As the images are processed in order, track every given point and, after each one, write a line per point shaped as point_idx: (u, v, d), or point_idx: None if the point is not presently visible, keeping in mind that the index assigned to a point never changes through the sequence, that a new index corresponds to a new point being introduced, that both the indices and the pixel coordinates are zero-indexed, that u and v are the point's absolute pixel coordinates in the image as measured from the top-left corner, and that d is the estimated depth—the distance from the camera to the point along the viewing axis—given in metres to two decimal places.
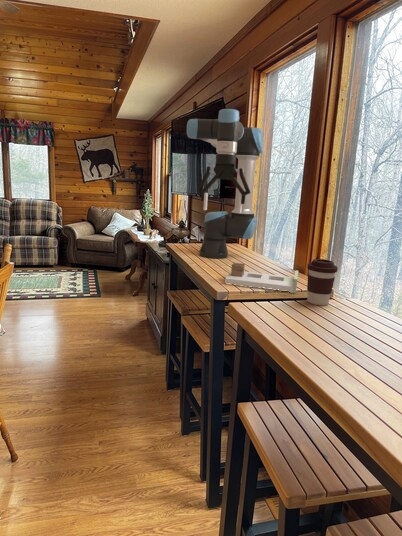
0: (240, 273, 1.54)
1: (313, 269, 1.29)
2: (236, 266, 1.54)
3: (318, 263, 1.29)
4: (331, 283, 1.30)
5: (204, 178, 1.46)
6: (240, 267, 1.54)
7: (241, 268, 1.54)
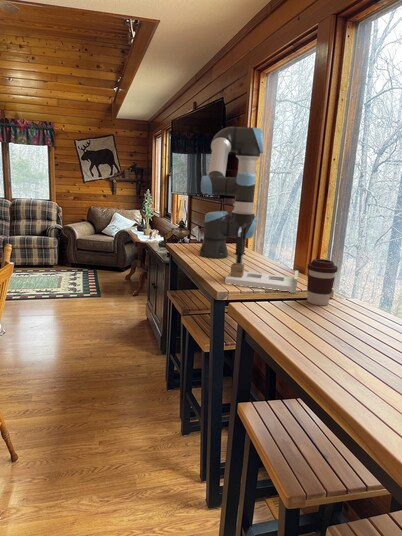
0: (240, 274, 1.53)
1: (313, 269, 1.29)
2: (235, 267, 1.53)
3: (318, 263, 1.29)
4: (331, 283, 1.30)
5: None
6: (240, 268, 1.52)
7: (241, 269, 1.52)
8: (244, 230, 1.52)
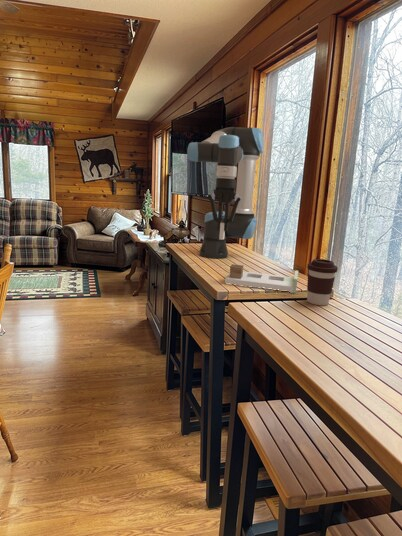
0: (239, 275, 1.51)
1: (313, 269, 1.29)
2: (235, 268, 1.51)
3: (318, 263, 1.29)
4: (331, 283, 1.30)
5: (212, 207, 1.49)
6: (239, 269, 1.51)
7: (240, 270, 1.51)
8: None
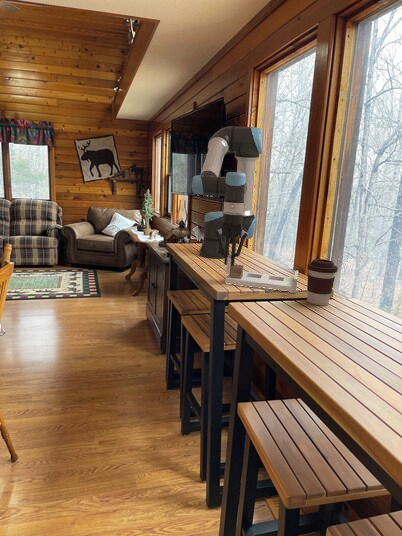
0: (239, 275, 1.51)
1: (313, 269, 1.29)
2: (235, 268, 1.51)
3: (318, 263, 1.29)
4: (331, 283, 1.30)
5: (219, 242, 1.51)
6: (239, 269, 1.51)
7: (240, 270, 1.51)
8: None
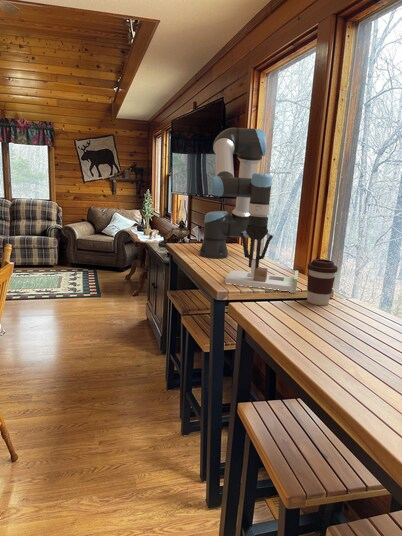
0: (263, 278, 1.48)
1: (313, 269, 1.29)
2: (259, 271, 1.48)
3: (318, 263, 1.29)
4: (331, 283, 1.30)
5: (244, 244, 1.48)
6: (263, 272, 1.48)
7: (264, 273, 1.48)
8: None
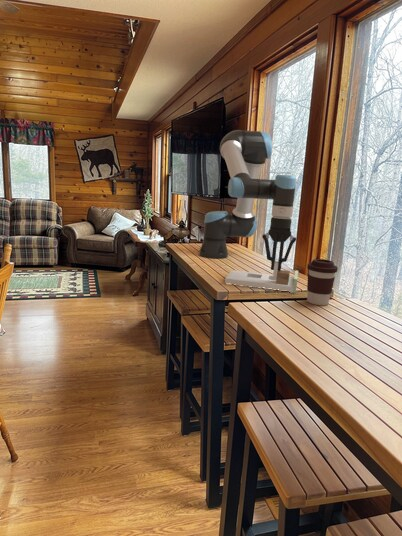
0: (286, 281, 1.46)
1: (313, 269, 1.29)
2: (282, 273, 1.46)
3: (318, 263, 1.29)
4: (331, 283, 1.30)
5: (266, 246, 1.46)
6: (286, 275, 1.46)
7: (287, 276, 1.46)
8: None
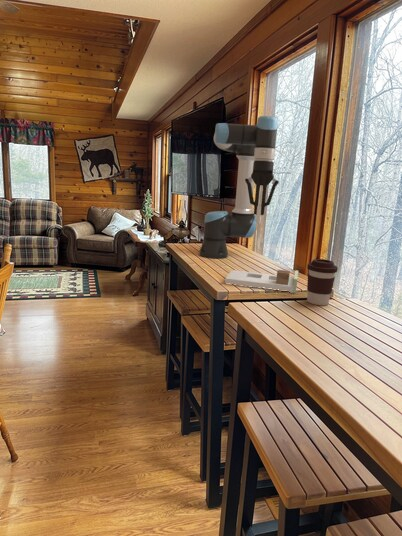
0: (286, 281, 1.46)
1: (313, 269, 1.29)
2: (282, 273, 1.46)
3: (318, 263, 1.29)
4: (331, 283, 1.30)
5: (249, 190, 1.47)
6: (286, 275, 1.46)
7: (287, 276, 1.46)
8: None
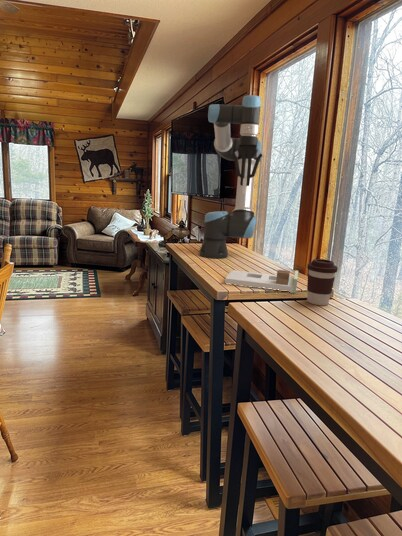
0: (286, 281, 1.46)
1: (313, 269, 1.29)
2: (282, 273, 1.46)
3: (318, 263, 1.29)
4: (331, 283, 1.30)
5: (236, 163, 1.63)
6: (286, 275, 1.46)
7: (287, 276, 1.46)
8: None
